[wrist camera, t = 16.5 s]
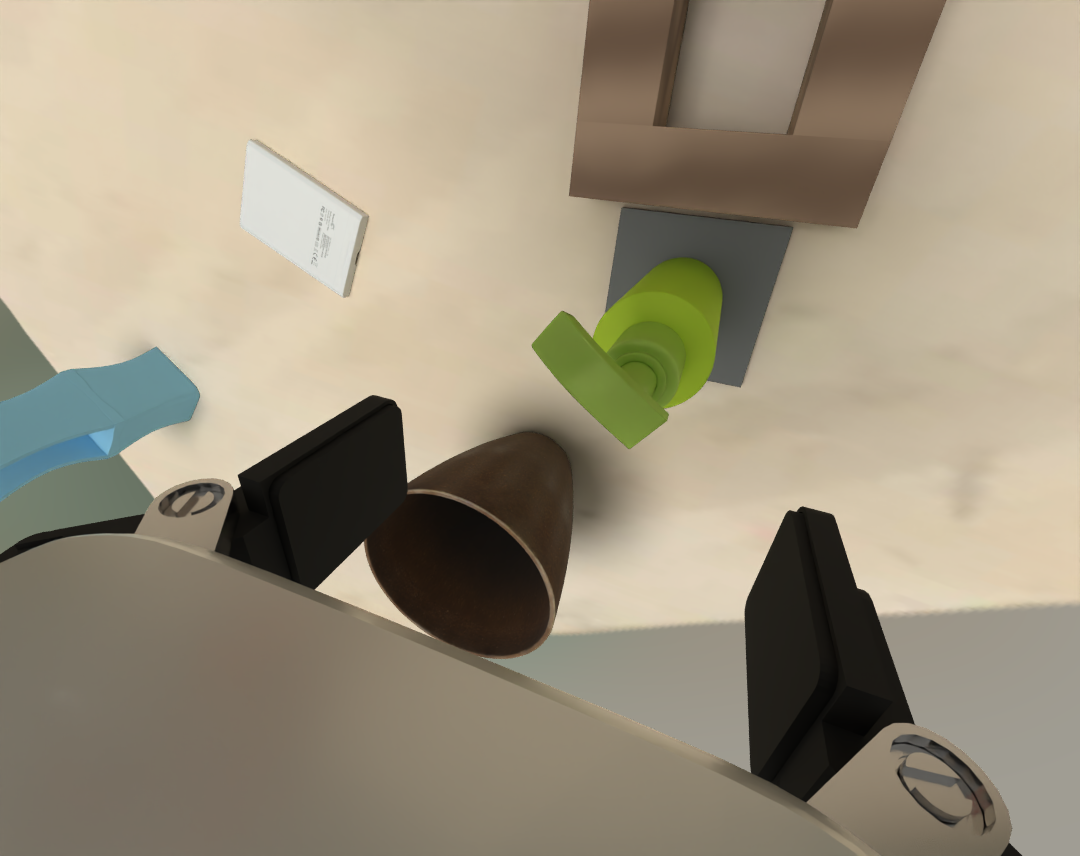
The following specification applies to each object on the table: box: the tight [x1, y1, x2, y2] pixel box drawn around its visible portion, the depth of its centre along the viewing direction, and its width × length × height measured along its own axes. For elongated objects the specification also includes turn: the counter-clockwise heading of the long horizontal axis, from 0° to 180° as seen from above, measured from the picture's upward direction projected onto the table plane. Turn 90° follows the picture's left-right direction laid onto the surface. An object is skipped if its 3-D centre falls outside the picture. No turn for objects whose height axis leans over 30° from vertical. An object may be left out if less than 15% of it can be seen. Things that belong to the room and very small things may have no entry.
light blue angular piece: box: [0, 347, 200, 502], centre depth 53 cm, size 8×8×20 cm
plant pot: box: [364, 432, 573, 659], centre depth 38 cm, size 15×15×16 cm
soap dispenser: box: [532, 257, 722, 449], centre depth 25 cm, size 6×7×20 cm
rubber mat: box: [605, 207, 793, 387], centre depth 33 cm, size 11×11×1 cm
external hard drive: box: [240, 139, 369, 298], centre depth 42 cm, size 2×8×12 cm
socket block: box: [569, 0, 946, 228], centre depth 24 cm, size 16×16×5 cm
